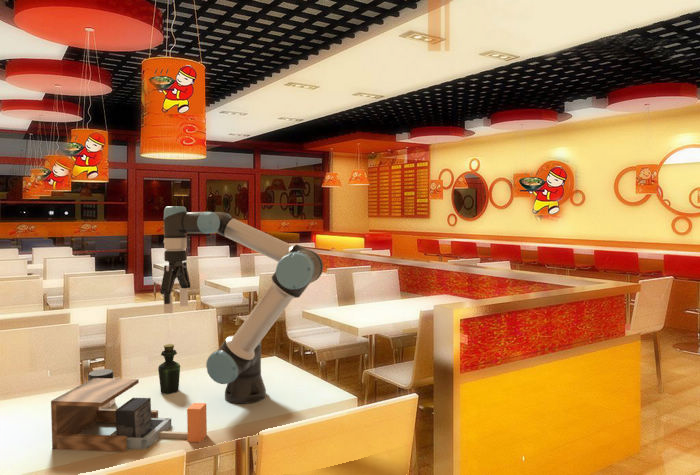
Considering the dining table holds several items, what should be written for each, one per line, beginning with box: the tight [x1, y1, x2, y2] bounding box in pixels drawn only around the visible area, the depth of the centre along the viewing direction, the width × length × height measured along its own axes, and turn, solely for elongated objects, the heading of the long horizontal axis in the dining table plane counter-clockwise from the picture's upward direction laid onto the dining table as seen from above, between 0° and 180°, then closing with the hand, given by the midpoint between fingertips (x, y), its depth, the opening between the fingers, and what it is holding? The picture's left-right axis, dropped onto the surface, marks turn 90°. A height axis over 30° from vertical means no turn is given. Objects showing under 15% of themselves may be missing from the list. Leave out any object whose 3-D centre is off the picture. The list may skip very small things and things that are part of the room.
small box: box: [115, 397, 153, 438], centre depth 156 cm, size 11×6×10 cm, turn 175°
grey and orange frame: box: [110, 402, 208, 450], centre depth 156 cm, size 27×16×10 cm, turn 85°
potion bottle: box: [157, 343, 181, 395], centre depth 196 cm, size 8×8×18 cm
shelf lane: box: [50, 378, 159, 453], centre depth 157 cm, size 22×21×14 cm
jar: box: [87, 368, 116, 409], centre depth 182 cm, size 9×8×12 cm
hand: (176, 309), depth 181 cm, fingers open, 13 cm apart
